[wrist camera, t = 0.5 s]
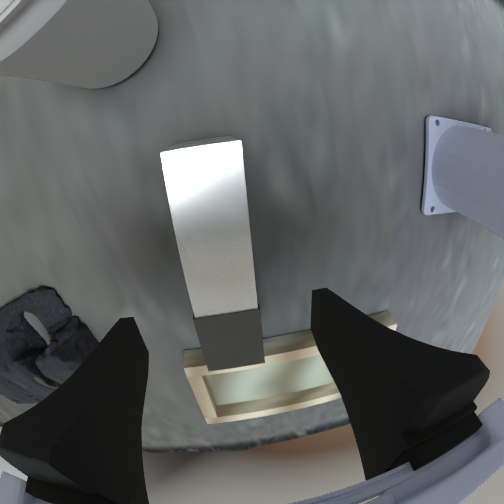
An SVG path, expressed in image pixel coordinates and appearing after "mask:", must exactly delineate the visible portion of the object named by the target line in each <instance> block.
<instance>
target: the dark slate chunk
mask: <svg viewBox="0 0 504 504" xmlns="http://www.w3.org/2000/svg"><path fill="white" fill-rule="evenodd" d="M24 311H26V312H29V313H32V314H34V315H35V316H36V317H37V318H38V319H39V320H40V321H41V323H42V324H43V325H44V327H45V328H46V330H47V331H48V335H49V336H50V337H51V341H50V345H49V346H47V345H46V341H45V340H44V339H43V338H42V337H41V336H40V334H39V333H38V332H37V331H36V330H35V329H34V328H33V327H32V326H31V325H30V324H29V323H28V321H27V320H26V319H25V318H24V316H23V313H24ZM68 317H70V318H68ZM67 318H68V319H67ZM70 319H71V321H70ZM98 344H99V342H98V341H97V340H96V338H95V337H94V336H93V334H92V333H91V331H90V330H89V328H88V327H87V326H86V325H85V324H83V323H80V322H79V320H78V317H73V316H72V312H71V311H70V309H69V307H68V306H67V305H63V304H62V302H61V300H60V298H59V297H57V296H56V293H55V291H54V290H50V289H48V288H45V287H41V288H39V289H36V290H35V292H33V293H28V294H25V295H23V296H22V297H21V298H20V299H18V300H16V301H15V302H12V303H10V304H9V305H7V306H4V307H3V308H2V309H0V394H1V395H4V396H5V397H6V398H8V399H9V400H11V401H13V402H16V403H18V404H21V403H39V402H41V401H42V400H43V399H45V398H46V397H47V396H48V395H50V394H51V393H52V392H53V391H55V390H56V389H57V388H58V387H59V386H60V385H62V384H63V383H64V382H65V381H66V380H67V379H68V378H69V377H70V376H71V375H72V374H73V373H74V372H75V371H76V370H77V369H78V368H79V367H80V365H81V364H82V363H83V362H84V361H85V360H86V358H87V357H88V356H89V355H90V354H91V353H92V352H93V350H94V349H95V348H96V347H97V346H98Z"/></svg>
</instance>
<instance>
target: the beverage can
mask: <svg viewBox="0 0 504 504" xmlns="http://www.w3.org/2000/svg"><path fill="white" fill-rule="evenodd" d="M157 35H158V21H157V17H156V14H155V12H154V10H153V8H152V6H151V4H150V2H149V0H0V75H3V76H13V77H22V78H29V79H36V80H43V81H49V82H55V83H61V84H66V85H71V86H76V87H81V88H86V89H97V88H105V87H108V86H111V85H114V84H116V83H118V82H120V81H122V80H124V79H126V78H127V77H129V76H130V75H131V74H133V73H134V72H135V71H136V70H137V69H138V68H139V67H140V66H141V65H142V64H143V63H144V62H145V60H146V59H147V58H148V56H149V55H150V53H151V51H152V49H153V47H154V45H155V42H156V39H157Z"/></svg>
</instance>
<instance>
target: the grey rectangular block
mask: <svg viewBox="0 0 504 504" xmlns="http://www.w3.org/2000/svg"><path fill="white" fill-rule="evenodd" d="M161 159H162V166H163V172H164V178H165V184H166V189H167V195H168V200H169V206H170V211H171V216H172V221H173V226H174V231H175V236H176V241H177V245H178V250H179V254H180V259H181V263H182V268H183V272H184V276H185V280H186V284H187V288H188V293H189V297H190V300H191V304H192V308H193V320H194V324H195V328H196V331H197V335H198V338H199V342H200V345H201V348H202V352H203V355H204V358H205V362H206V365H207V368H208V371H216V370H224V369H231V368H237V367H244V366H250V365H256V364H261V363H265V357H264V346H263V335H262V324H261V314H260V307H259V304H258V301H257V294H256V284H255V274H254V264H253V254H252V244H251V234H250V224H249V213H248V203H247V193H246V183H245V173H244V163H243V153H242V143H241V140H239V139H237V138H235V137H233V136H223V137H215V138H208V139H201V140H194V141H188V142H182V143H176V144H173V145H171V146H170V147H168V148H167V149H165V150H164V151H162V152H161Z"/></svg>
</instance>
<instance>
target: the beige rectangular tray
mask: <svg viewBox="0 0 504 504" xmlns="http://www.w3.org/2000/svg"><path fill="white" fill-rule="evenodd" d="M369 317H371V318H372V319H374V320H376V321H377V322H379V323H381V324H383V325H384V326H386V327H388V328H390V329H392V330H394V331H395V330H396V327H397V322H396V321H395V320H394V319H393V317H392V316H391V315H390V314H389V312H388V311H383V312H380V313H376V314H372V315H369ZM263 346H264V357H265V363H261V364H256V365H250V366H244V367H237V368H231V369H224V370H216V371H208V368H207V365H206V362H205V358H204V355H203V352H202V348H200V349H192V350H184V370H185V373H186V375H187V378H188V380H189V383H190V385H191V387H192V390H193V392H194V394H195V397H196V399H197V401H198V404H199V406H200V408H201V410H202V413H203V415H204V417H205V419H206V421H207V424H212V423H221V422H229V421H237V420H244V419H250V418H256V417H262V416H267V415H273V414H278V413H283V412H287V411H292V410H296V409H301V408H305V407H309V406H313V405H317V404H320V403H324V402H328V401H331V400H335V399H338V398H342V397H341V395H340V392H339V390H338V388H337V386H336V384H335V382H334V380H333V378H332V376H331V374H330V372H329V370H328V368H327V367H326V365H325V363H324V361H323V359H322V357H321V355H320V353H319V351H318V348H317V346H316V343H315V340H314V337H313V334H312V331H311V330H306V331H302V332H297V333H292V334H287V335H282V336H276V337H271V338H266V339H263Z"/></svg>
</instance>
